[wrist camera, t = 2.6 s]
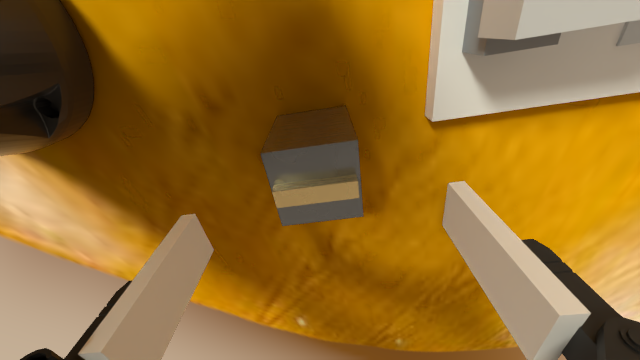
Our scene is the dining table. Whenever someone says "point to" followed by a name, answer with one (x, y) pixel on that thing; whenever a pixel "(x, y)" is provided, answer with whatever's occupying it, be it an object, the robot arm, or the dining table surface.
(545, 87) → the white base plate
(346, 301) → the dining table surface
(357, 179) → the dark grey block
